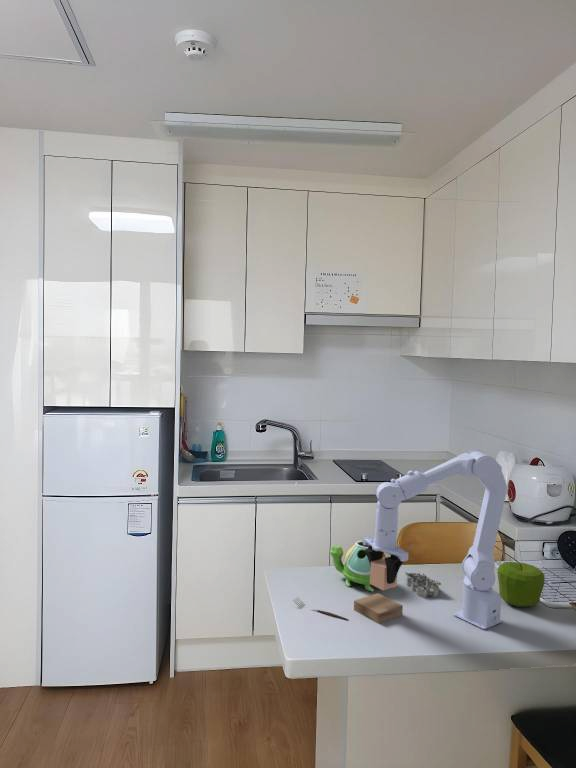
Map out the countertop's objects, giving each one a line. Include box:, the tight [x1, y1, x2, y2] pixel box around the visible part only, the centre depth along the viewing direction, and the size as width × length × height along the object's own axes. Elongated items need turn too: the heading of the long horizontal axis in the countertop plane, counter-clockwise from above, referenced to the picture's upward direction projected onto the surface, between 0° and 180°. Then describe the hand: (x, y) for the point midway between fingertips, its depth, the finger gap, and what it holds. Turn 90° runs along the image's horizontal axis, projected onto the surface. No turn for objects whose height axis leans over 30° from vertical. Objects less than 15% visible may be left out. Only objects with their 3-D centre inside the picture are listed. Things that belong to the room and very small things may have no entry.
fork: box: [292, 596, 349, 621], centre depth 154 cm, size 3×16×2 cm, turn 59°
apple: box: [497, 561, 545, 608], centre depth 165 cm, size 12×12×11 cm
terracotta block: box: [370, 558, 398, 591], centre depth 155 cm, size 5×5×6 cm
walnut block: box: [353, 592, 404, 624], centre depth 155 cm, size 9×9×3 cm
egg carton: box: [405, 571, 442, 598], centre depth 172 cm, size 11×8×4 cm
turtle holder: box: [329, 540, 387, 592], centre depth 175 cm, size 12×18×12 cm
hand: (383, 579), depth 155 cm, fingers closed on terracotta block, 5 cm apart
